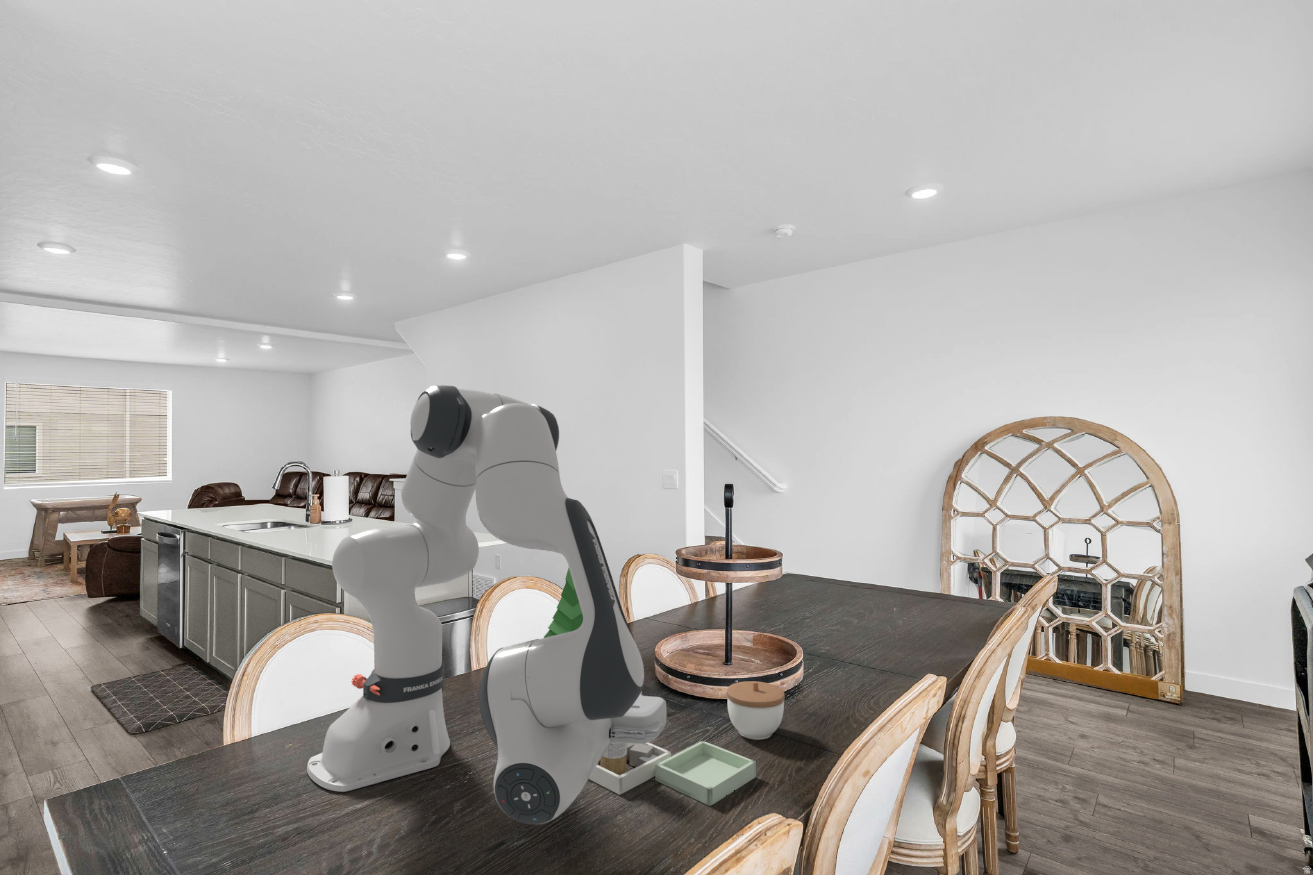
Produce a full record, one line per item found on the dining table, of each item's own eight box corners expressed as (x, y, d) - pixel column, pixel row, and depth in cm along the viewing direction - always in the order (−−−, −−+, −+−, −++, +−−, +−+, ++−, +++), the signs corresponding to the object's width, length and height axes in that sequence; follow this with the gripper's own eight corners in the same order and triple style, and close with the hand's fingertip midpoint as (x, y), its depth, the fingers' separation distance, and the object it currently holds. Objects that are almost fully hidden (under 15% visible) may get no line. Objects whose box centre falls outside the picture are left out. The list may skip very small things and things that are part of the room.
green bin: (710, 806, 98) (710, 789, 98) (655, 780, 105) (655, 764, 105) (755, 776, 106) (755, 761, 106) (702, 755, 114) (702, 740, 114)
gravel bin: (619, 794, 101) (619, 777, 101) (572, 770, 108) (572, 754, 108) (671, 767, 109) (671, 751, 109) (624, 746, 117) (624, 731, 117)
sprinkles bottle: (599, 767, 109) (600, 685, 109) (626, 766, 110) (627, 684, 110) (599, 780, 105) (600, 695, 105) (628, 779, 105) (629, 695, 105)
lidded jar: (739, 748, 117) (740, 695, 117) (718, 723, 127) (718, 674, 127) (794, 741, 119) (795, 689, 120) (769, 718, 130) (769, 670, 130)
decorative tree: (582, 680, 150) (583, 548, 150) (530, 667, 158) (532, 542, 158) (616, 664, 161) (618, 541, 162) (566, 653, 170) (568, 536, 170)
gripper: (656, 712, 80) (675, 675, 94) (500, 700, 84) (540, 666, 98) (656, 764, 80) (675, 719, 94) (500, 750, 84) (540, 709, 98)
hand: (605, 692), depth 96 cm, fingers open, 8 cm apart
